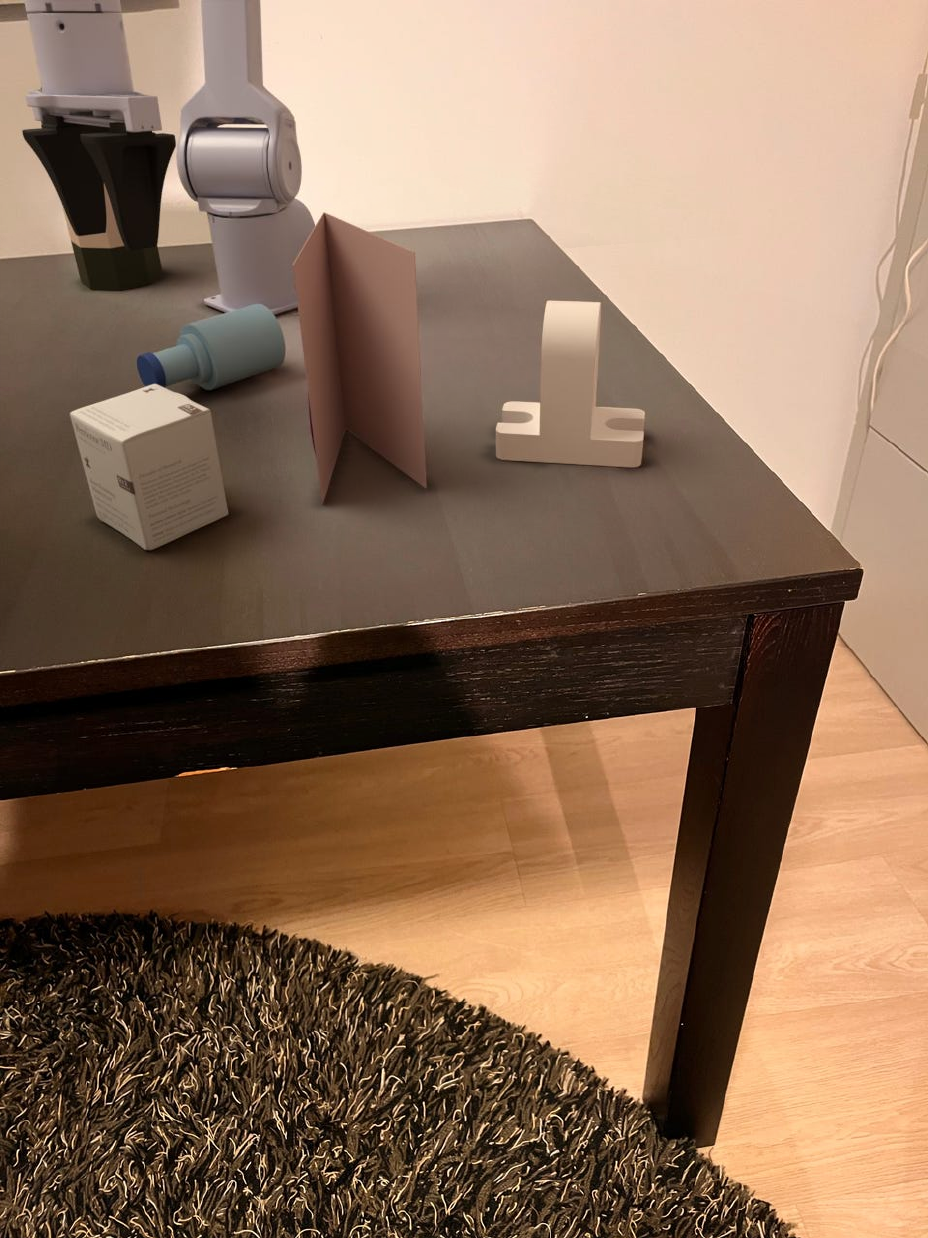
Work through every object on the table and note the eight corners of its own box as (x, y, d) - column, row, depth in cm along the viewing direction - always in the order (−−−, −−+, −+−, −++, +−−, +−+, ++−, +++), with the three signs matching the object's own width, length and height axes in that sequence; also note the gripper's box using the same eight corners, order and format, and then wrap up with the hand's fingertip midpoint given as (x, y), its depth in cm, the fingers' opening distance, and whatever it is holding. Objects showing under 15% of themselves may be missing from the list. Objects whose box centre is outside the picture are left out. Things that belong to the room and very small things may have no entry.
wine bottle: (180, 273, 103) (113, -74, 86) (118, 295, 98) (34, -71, 80) (125, 262, 107) (51, -73, 89) (64, 283, 101) (-29, -70, 84)
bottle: (244, 297, 80) (122, 332, 74) (281, 311, 77) (157, 349, 71) (253, 358, 83) (137, 396, 77) (289, 374, 80) (171, 415, 74)
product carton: (95, 520, 61) (64, 411, 57) (178, 485, 65) (154, 379, 61) (149, 554, 58) (120, 440, 54) (232, 515, 61) (212, 405, 57)
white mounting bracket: (505, 426, 71) (505, 288, 65) (642, 433, 70) (655, 292, 64) (494, 459, 67) (493, 314, 61) (640, 467, 65) (654, 320, 59)
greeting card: (333, 427, 72) (310, 212, 63) (434, 426, 71) (425, 210, 62) (308, 504, 62) (277, 264, 54) (424, 504, 62) (412, 263, 53)
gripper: (-33, 14, 64) (17, 234, 71) (64, 10, 55) (110, 263, 62) (70, 15, 68) (108, 223, 75) (176, 11, 59) (207, 248, 66)
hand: (115, 240), depth 69 cm, fingers open, 7 cm apart
